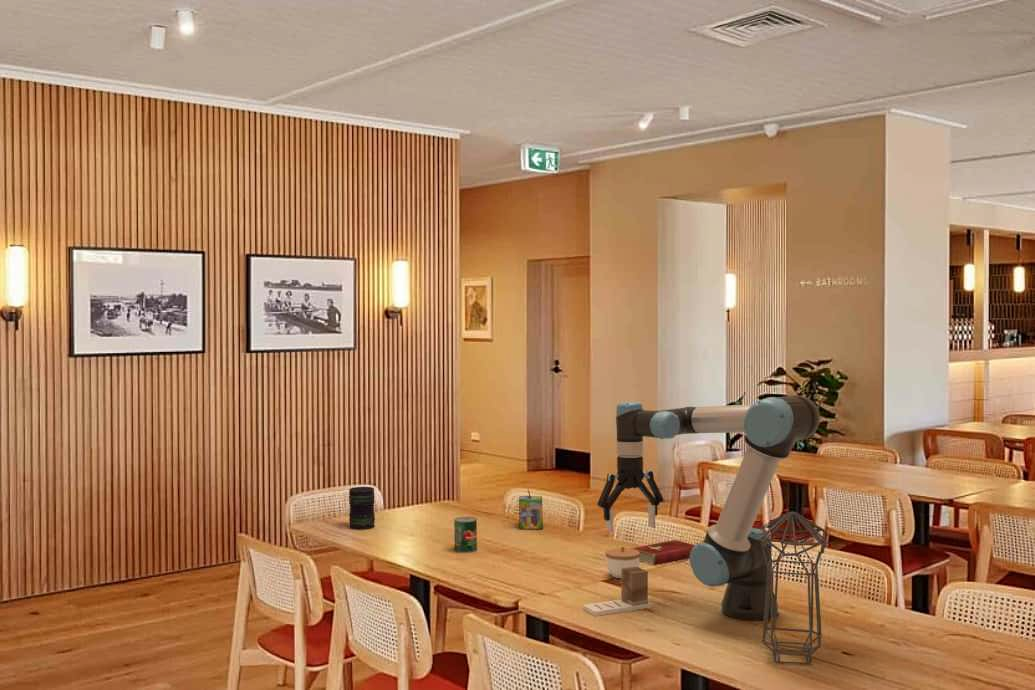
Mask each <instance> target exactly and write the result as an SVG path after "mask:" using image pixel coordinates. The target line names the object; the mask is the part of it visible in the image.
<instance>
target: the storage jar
mask: <svg viewBox="0 0 1035 690" xmlns="http://www.w3.org/2000/svg"><path fill="white" fill-rule="evenodd" d="M348 492H349V493H348V499H349V500H348V503H349V514H348V516H349V518H348V520H349V529H351V530H355V531H363V530H365V531H366V530H371V529H374V528H375V525H376V524H375V521H376V517H375V514H376V513H375V488H374V487H373V486H355V487H351V488H349V489H348Z"/></svg>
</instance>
